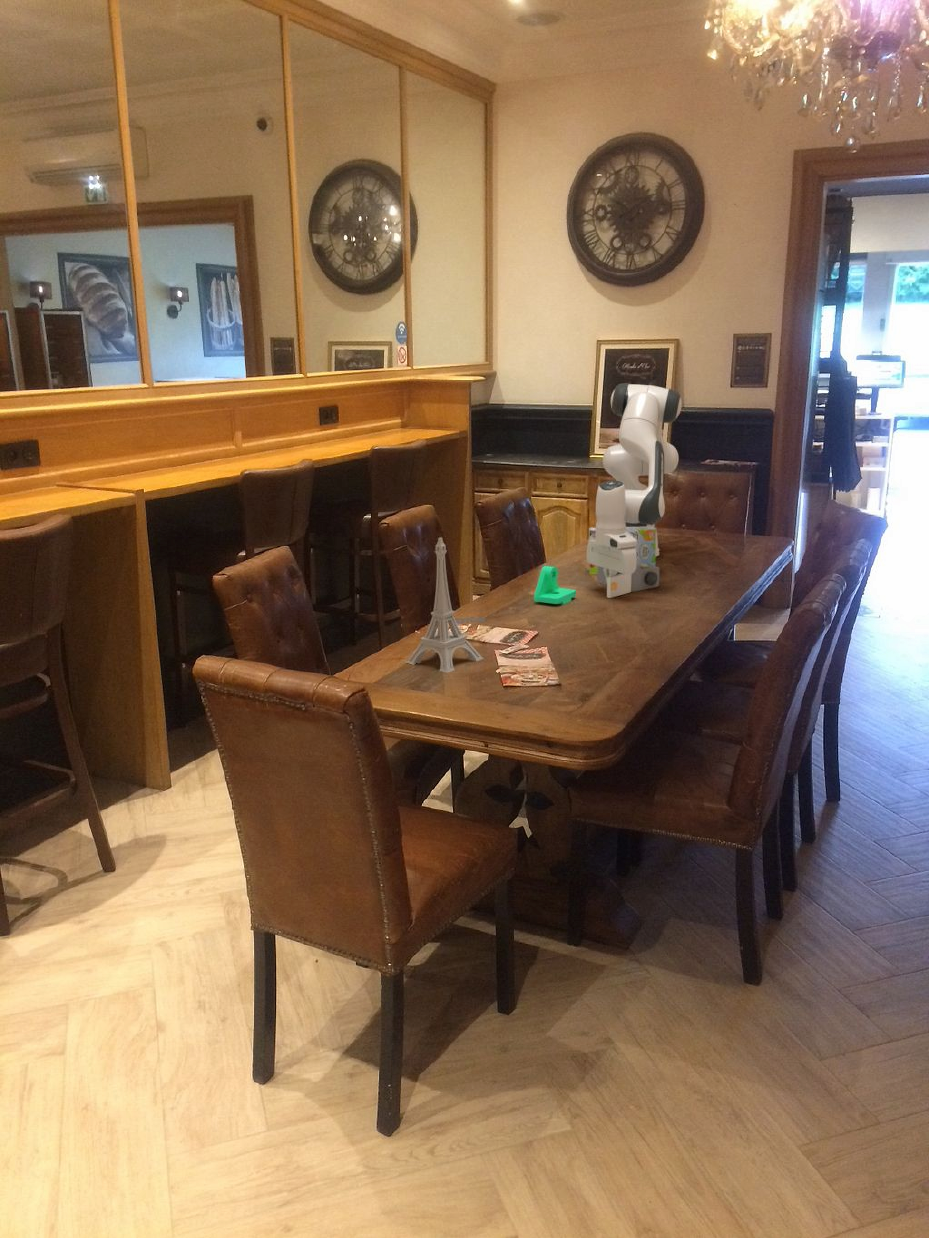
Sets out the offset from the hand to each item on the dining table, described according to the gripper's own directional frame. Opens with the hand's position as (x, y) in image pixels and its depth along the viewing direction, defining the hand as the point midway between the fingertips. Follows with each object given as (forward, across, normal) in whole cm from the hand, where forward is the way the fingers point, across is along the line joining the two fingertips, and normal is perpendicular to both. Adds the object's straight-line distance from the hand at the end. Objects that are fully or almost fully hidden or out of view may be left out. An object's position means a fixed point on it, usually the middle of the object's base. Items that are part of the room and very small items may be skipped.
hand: (610, 583), depth 293 cm
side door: (+3, +2, +2) cm, 5 cm away
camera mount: (+4, -3, -17) cm, 18 cm away
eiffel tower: (+4, +31, -71) cm, 77 cm away
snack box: (+4, -22, +21) cm, 31 cm away
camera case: (+4, -8, +13) cm, 16 cm away
